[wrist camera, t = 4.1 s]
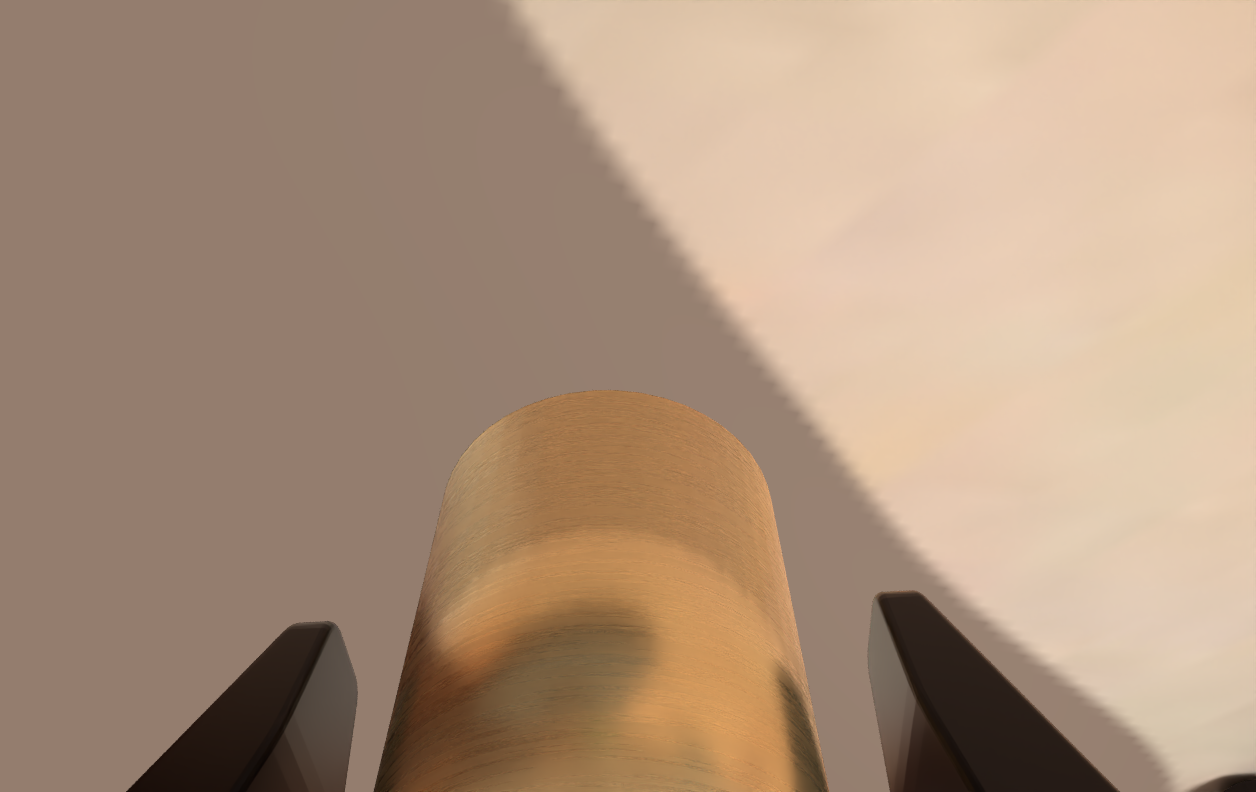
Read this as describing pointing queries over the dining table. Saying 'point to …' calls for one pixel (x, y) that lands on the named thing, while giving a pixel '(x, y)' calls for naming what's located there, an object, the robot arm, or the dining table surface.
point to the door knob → (604, 615)
